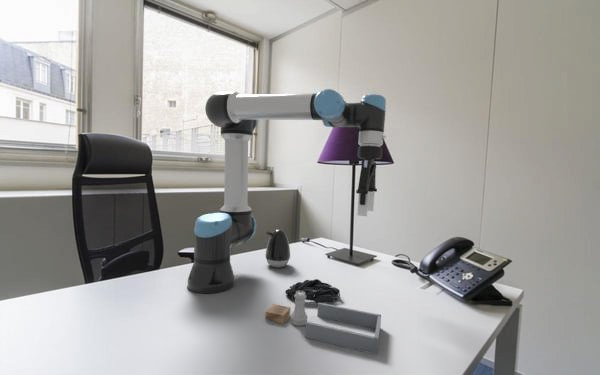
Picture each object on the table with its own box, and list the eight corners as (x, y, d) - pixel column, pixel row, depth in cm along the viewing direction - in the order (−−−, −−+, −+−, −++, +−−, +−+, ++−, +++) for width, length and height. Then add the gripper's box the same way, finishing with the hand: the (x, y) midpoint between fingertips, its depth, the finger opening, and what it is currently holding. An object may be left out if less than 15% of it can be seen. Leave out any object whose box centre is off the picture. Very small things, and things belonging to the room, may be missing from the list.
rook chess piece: (297, 316, 80) (299, 287, 80) (310, 322, 78) (312, 292, 77) (286, 322, 77) (288, 292, 76) (300, 328, 74) (301, 297, 74)
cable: (286, 306, 87) (287, 291, 87) (282, 287, 101) (283, 274, 100) (343, 305, 89) (343, 291, 89) (331, 286, 103) (332, 274, 103)
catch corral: (304, 337, 70) (305, 323, 70) (318, 314, 82) (318, 302, 82) (376, 354, 65) (378, 339, 65) (380, 327, 76) (381, 314, 76)
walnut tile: (265, 320, 78) (265, 311, 78) (273, 312, 82) (273, 303, 82) (283, 325, 76) (283, 315, 76) (289, 316, 81) (290, 307, 81)
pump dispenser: (262, 262, 125) (264, 226, 124) (286, 261, 128) (287, 226, 127) (267, 270, 115) (268, 232, 114) (292, 269, 118) (294, 231, 117)
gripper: (377, 142, 79) (372, 219, 81) (386, 149, 103) (382, 209, 104) (350, 141, 82) (345, 216, 83) (364, 149, 105) (360, 207, 107)
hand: (365, 213), depth 94 cm, fingers open, 13 cm apart
